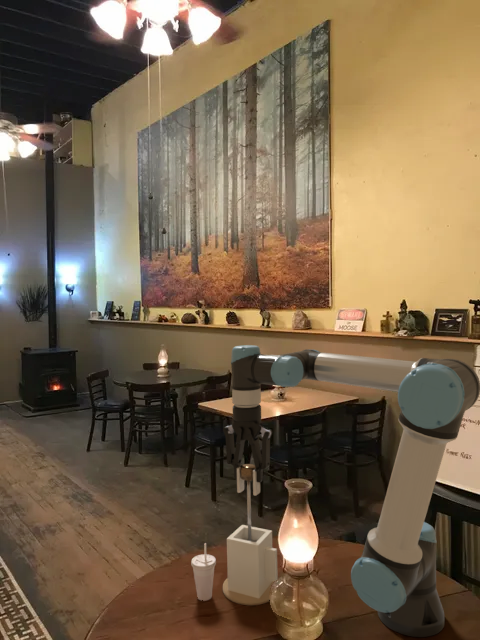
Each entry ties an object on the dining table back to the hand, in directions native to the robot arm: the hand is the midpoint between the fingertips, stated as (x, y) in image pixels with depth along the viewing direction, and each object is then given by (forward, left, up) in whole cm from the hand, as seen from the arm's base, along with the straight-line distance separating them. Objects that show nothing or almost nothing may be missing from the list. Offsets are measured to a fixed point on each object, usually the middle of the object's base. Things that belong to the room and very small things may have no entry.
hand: (248, 492), depth 135 cm
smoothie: (+9, +8, -26) cm, 29 cm away
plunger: (0, 0, -15) cm, 15 cm away
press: (0, 0, -26) cm, 26 cm away
